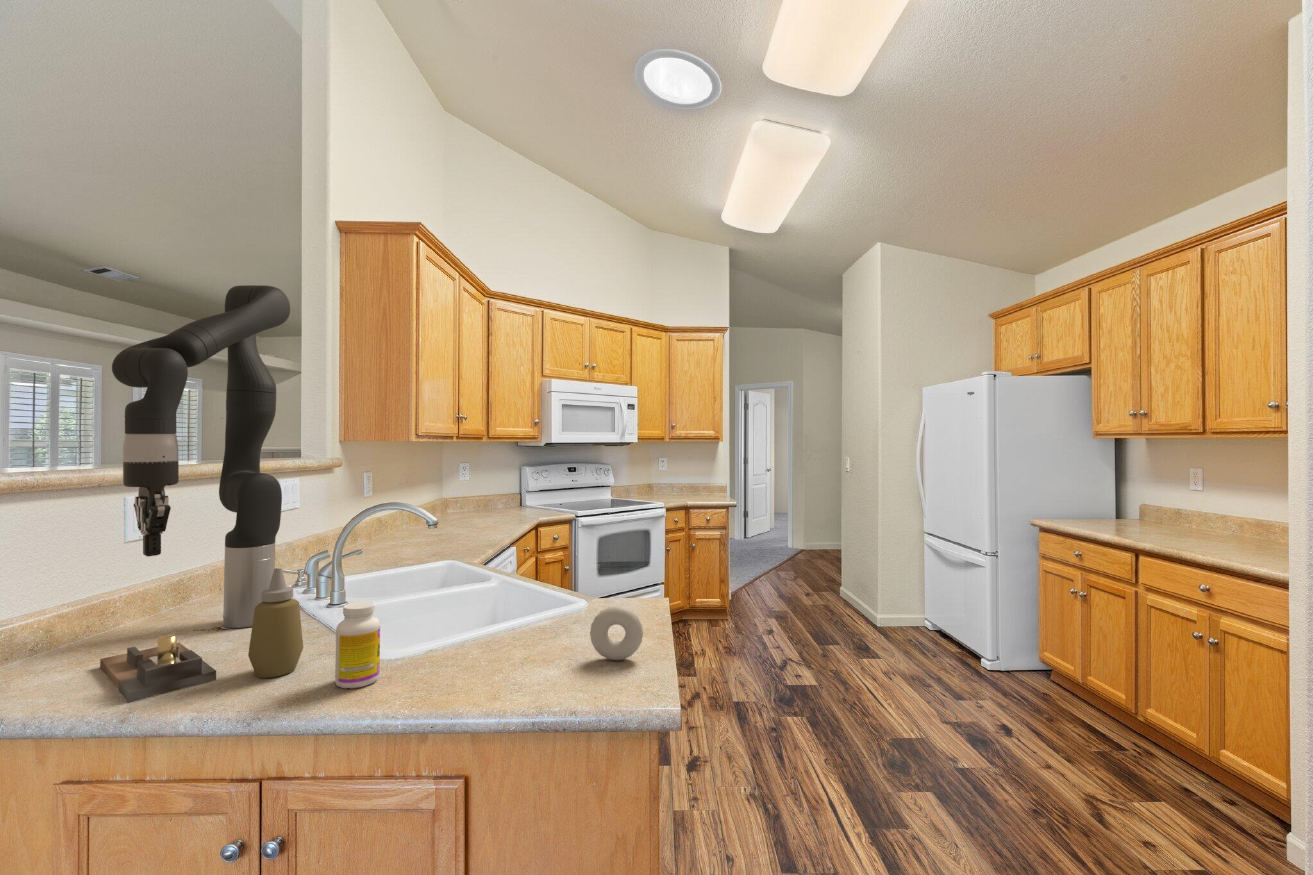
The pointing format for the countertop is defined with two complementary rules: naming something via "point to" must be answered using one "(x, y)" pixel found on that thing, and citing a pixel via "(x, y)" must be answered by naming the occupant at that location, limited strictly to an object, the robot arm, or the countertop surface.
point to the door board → (155, 672)
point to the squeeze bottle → (276, 630)
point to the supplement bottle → (357, 646)
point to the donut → (618, 648)
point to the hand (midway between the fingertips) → (152, 555)
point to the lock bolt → (166, 650)
